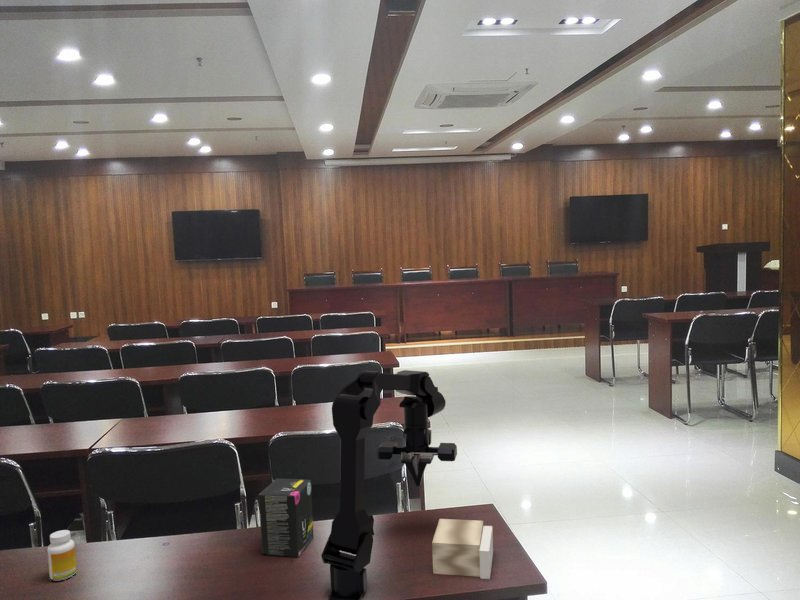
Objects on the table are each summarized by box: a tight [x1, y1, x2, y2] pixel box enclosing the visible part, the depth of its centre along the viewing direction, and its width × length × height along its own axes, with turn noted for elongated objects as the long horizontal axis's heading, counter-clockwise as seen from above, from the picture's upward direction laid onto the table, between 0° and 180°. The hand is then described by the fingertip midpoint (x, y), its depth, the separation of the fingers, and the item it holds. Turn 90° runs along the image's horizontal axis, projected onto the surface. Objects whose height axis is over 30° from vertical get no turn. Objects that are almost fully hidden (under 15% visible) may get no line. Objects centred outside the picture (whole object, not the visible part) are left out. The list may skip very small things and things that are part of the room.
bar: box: [479, 525, 494, 580], centre depth 135 cm, size 2×12×6 cm, turn 168°
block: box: [431, 518, 484, 578], centre depth 137 cm, size 10×12×7 cm
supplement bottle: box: [46, 529, 78, 579], centre depth 137 cm, size 5×5×10 cm
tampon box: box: [258, 478, 315, 558], centre depth 147 cm, size 11×9×15 cm
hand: (418, 485), depth 150 cm, fingers closed
